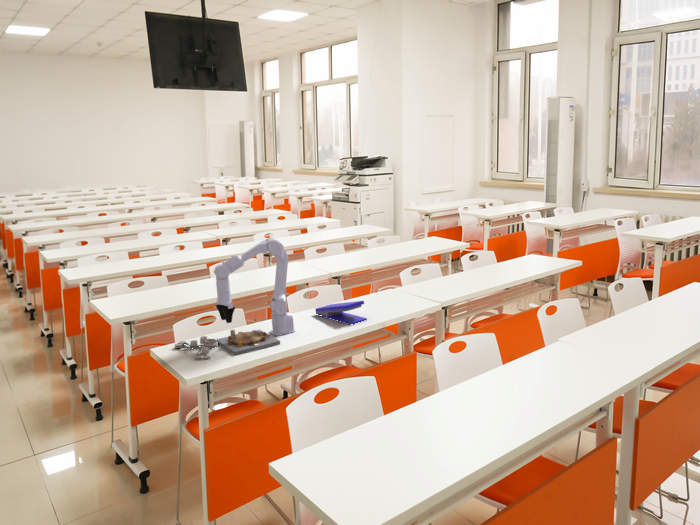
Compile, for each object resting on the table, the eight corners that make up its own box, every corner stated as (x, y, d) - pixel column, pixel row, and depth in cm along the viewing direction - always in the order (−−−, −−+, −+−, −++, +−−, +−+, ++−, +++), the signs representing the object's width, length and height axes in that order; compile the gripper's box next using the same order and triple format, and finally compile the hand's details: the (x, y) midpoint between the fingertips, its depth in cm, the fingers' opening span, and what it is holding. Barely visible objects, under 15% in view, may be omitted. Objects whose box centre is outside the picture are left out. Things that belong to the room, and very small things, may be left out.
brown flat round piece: (257, 331, 259) (256, 320, 258) (273, 340, 245) (272, 329, 244) (221, 339, 250) (220, 328, 249) (236, 349, 236) (235, 337, 235)
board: (259, 332, 262) (259, 328, 262) (280, 344, 244) (279, 339, 244) (216, 342, 251) (216, 338, 251) (234, 355, 233) (234, 350, 233)
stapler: (350, 325, 266) (349, 305, 264) (314, 315, 286) (313, 297, 285) (368, 320, 273) (367, 300, 271) (331, 310, 294) (330, 292, 292)
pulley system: (203, 341, 258) (171, 347, 248) (203, 331, 257) (171, 337, 248) (231, 357, 237) (198, 364, 228) (231, 346, 236) (197, 353, 227)
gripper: (209, 290, 252) (212, 319, 254) (220, 296, 240) (223, 326, 242) (224, 287, 256) (227, 316, 258) (236, 293, 244) (239, 323, 246)
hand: (226, 321), depth 250 cm, fingers open, 6 cm apart
